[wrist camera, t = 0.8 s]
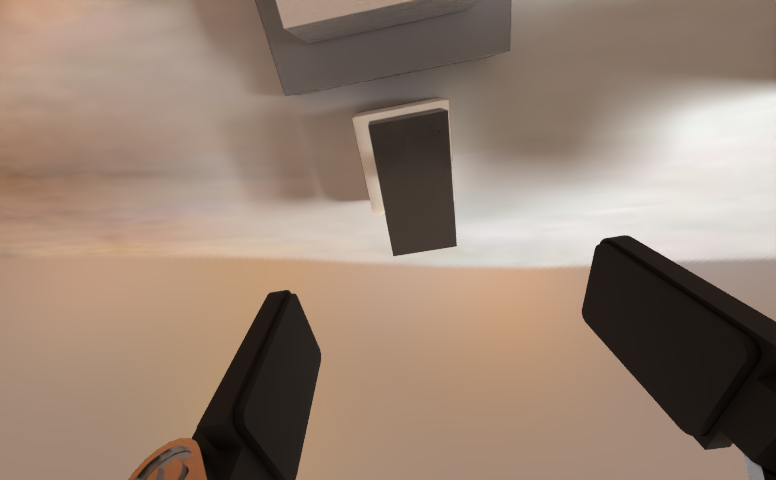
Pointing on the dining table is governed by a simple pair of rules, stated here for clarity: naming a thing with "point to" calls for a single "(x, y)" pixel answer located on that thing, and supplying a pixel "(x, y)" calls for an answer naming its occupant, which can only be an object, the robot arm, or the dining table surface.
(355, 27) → the chuck
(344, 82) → the grey flat slab
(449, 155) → the block
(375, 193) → the key stand
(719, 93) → the dining table surface
